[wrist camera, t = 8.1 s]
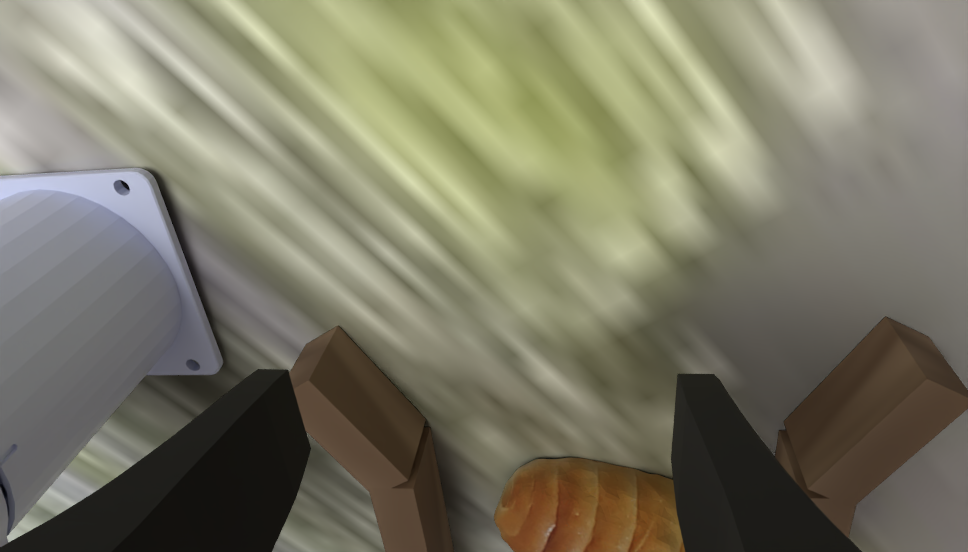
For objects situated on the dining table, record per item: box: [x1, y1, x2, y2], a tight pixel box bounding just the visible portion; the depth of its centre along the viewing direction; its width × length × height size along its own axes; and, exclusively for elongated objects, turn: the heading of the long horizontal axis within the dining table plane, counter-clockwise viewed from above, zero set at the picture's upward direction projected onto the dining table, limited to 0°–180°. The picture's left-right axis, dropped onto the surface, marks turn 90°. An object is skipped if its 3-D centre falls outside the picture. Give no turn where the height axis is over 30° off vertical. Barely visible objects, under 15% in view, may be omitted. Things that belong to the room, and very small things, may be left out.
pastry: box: [494, 457, 685, 552], centre depth 26 cm, size 9×7×4 cm
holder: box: [289, 317, 968, 552], centre depth 26 cm, size 20×18×3 cm
